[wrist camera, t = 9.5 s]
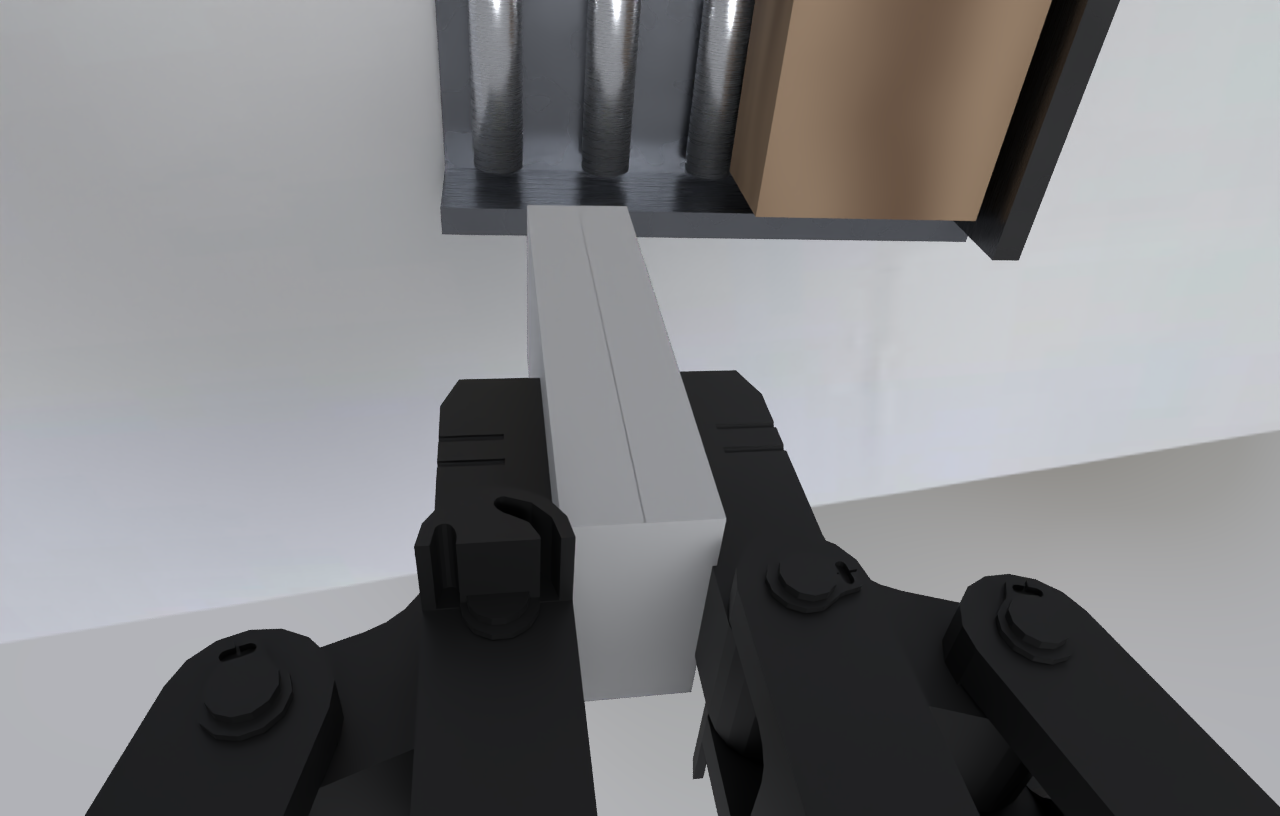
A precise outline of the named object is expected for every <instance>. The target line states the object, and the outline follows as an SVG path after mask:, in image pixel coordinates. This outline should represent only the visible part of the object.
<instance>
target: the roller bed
mask: <svg viewBox="0 0 1280 816" xmlns="http://www.w3.org/2000/svg"><path fill="white" fill-rule="evenodd" d="M435 1H436V18H437V35H438V51H439V68H440V85H441V102H442V118H443V135H444V152H445V175H444V183H443V191H442V200H441V222H442V234H459V235H527V205H564V206H627V208H628V212H629V215H630V218H631V221H632V224H633V227H634V230H635V233H636V237H668V238H737V239H807V240H877V241H946V242H966V239H967V236H969V237H970V238H971V239H972V240H973V241H974V242H975V243H976V244H977V245H978V246H979V247H980V248H981V249H982V250H983V251H984V252H985V253H986V254H987V255H988V256H989V257H990V258H991V259H992V260H1019V258H1020V255H1021V253H1022V250H1023V248H1024V245H1025V243H1026V240H1027V237H1028V235H1029V232H1030V230H1031V227H1032V225H1033V222H1034V219H1035V217H1036V214H1037V212H1038V209H1039V207H1040V204H1041V202H1042V199H1043V196H1044V194H1045V191H1046V189H1047V186H1048V184H1049V181H1050V178H1051V176H1052V173H1053V171H1054V168H1055V166H1056V163H1057V161H1058V158H1059V155H1060V153H1061V150H1062V148H1063V145H1064V143H1065V140H1066V137H1067V135H1068V132H1069V130H1070V127H1071V125H1072V122H1073V119H1074V117H1075V114H1076V112H1077V109H1078V107H1079V104H1080V102H1081V99H1082V96H1083V94H1084V91H1085V89H1086V86H1087V84H1088V81H1089V78H1090V76H1091V73H1092V71H1093V68H1094V66H1095V63H1096V60H1097V58H1098V55H1099V53H1100V50H1101V48H1102V45H1103V43H1104V40H1105V37H1106V35H1107V32H1108V30H1109V27H1110V25H1111V22H1112V19H1113V17H1114V14H1115V12H1116V9H1117V7H1118V4H1119V2H1120V0H1052V1H1051V4H1050V7H1049V10H1048V13H1047V16H1046V19H1045V22H1044V25H1043V28H1042V30H1041V33H1040V36H1039V39H1038V42H1037V45H1036V48H1035V51H1034V54H1033V57H1032V59H1031V62H1030V65H1029V68H1028V71H1027V74H1026V77H1025V80H1024V83H1023V85H1022V88H1021V91H1020V94H1019V97H1018V100H1017V103H1016V106H1015V109H1014V112H1013V114H1012V117H1011V120H1010V123H1009V126H1008V129H1007V132H1006V135H1005V138H1004V141H1003V143H1002V146H1001V149H1000V152H999V155H998V158H997V161H996V164H995V167H994V169H993V172H992V175H991V178H990V181H989V184H988V187H987V190H986V193H985V196H984V198H983V201H982V204H981V207H980V210H979V213H978V216H977V219H976V221H949V220H895V219H841V218H788V217H755V215H754V213H753V211H752V210H751V208H750V206H749V204H748V203H747V201H746V199H745V198H744V196H743V194H742V192H741V191H740V189H739V187H738V185H737V184H736V182H735V180H734V178H733V177H732V175H731V173H730V164H731V158H732V151H733V144H734V138H735V131H736V124H737V118H738V111H739V104H740V98H741V91H742V84H743V78H744V71H745V64H746V58H747V51H748V44H749V38H750V31H751V25H752V18H753V11H754V5H755V0H435Z"/></svg>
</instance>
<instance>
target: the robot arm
mask: <svg viewBox="0 0 1280 816" xmlns="http://www.w3.org/2000/svg"><path fill="white" fill-rule="evenodd" d="M527 358H528V370H529V378H505V379H464V380H458V382H457V383H456V385H455V386H454V387H453V389H452V390H451V392H450V393H449V395H448V396H447V397H446V399H445V400H444V402H443V403H442V404H441V406H440V422H439V442H438V458H437V464H438V468H437V477H436V495H435V511H434V512H433V513H432V514H431V515H430V516H429V517H428V518H427V519H426V520H425V521H424V522H423V523H422V525H421V528H420V531H419V534H418V537H417V540H416V543H415V546H414V549H415V557H416V565H417V573H418V581H419V589H420V593H419V595H418V596H417V597H416V598H415V599H414V600H413V601H412V602H411V603H410V604H409V605H408V606H407V607H406V609H405V610H403V611H402V612H400V613H399V614H397V615H396V616H394V617H393V618H392V619H390V620H389V621H387V622H386V623H383V624H381V625H379V626H377V627H375V628H372V629H370V630H368V631H366V632H364V633H361V634H358V635H355V636H352V637H349V638H346V639H343V640H340V641H337V642H335V643H332V644H329V645H326V646H323V647H319V646H318V645H317V644H315V643H314V642H313V641H312V640H311V639H310V638H309V637H306V636H303V635H300V634H297V633H294V632H290V631H287V630H284V629H262V630H248V631H245V632H242V633H239V634H236V635H233V636H230V637H227V638H224V639H221V640H218V641H216V642H214V643H213V644H211V645H209V646H208V647H206V648H205V649H203V650H202V651H200V652H199V653H197V654H196V655H194V656H193V657H192V658H190V659H188V660H187V661H186V662H185V663H184V664H183V665H182V666H181V667H180V669H179V670H178V671H177V672H176V673H175V674H174V676H173V677H172V678H171V679H170V680H169V681H168V682H167V684H166V685H165V686H164V687H163V689H162V691H161V692H160V694H159V695H158V697H157V699H156V700H155V702H154V704H153V705H152V707H151V708H150V710H149V712H148V713H147V715H146V716H145V718H144V720H143V721H142V723H141V725H140V726H139V728H138V730H137V731H136V733H135V734H134V736H133V738H132V739H131V741H130V743H129V744H128V746H127V747H126V749H125V751H124V752H123V754H122V756H121V757H120V759H119V761H118V762H117V764H116V765H115V767H114V769H113V770H112V772H111V774H110V775H109V777H108V778H107V780H106V782H105V783H104V785H103V787H102V788H101V790H100V792H99V793H98V795H97V796H96V798H95V800H94V801H93V803H92V805H91V806H90V808H89V809H88V811H87V813H86V814H85V816H597V808H596V799H595V791H594V782H593V774H592V764H591V756H590V747H589V738H588V730H587V721H586V712H585V703H584V702H585V701H595V700H607V699H618V698H629V697H641V696H651V695H663V694H674V693H686V692H691V689H692V685H693V680H694V675H695V670H696V666H697V668H698V671H699V676H700V680H701V684H702V688H703V693H704V697H705V701H706V703H705V708H704V712H703V716H702V721H701V725H700V730H699V734H698V738H697V743H696V747H695V752H694V756H693V779H699V778H703V776H704V771H705V767H706V764H707V767H708V772H709V777H710V781H711V786H712V790H713V795H714V799H715V804H716V808H717V813H718V816H1280V807H1279V806H1278V805H1277V804H1276V803H1275V802H1274V801H1273V800H1272V799H1271V798H1270V797H1269V796H1268V795H1267V794H1266V793H1265V792H1264V791H1263V790H1262V789H1261V788H1260V787H1259V785H1258V784H1256V782H1255V781H1254V780H1253V779H1251V778H1250V776H1249V775H1248V774H1247V773H1246V772H1245V771H1244V770H1243V769H1242V768H1241V767H1240V766H1239V765H1238V764H1237V763H1236V762H1235V761H1234V760H1233V759H1232V758H1231V757H1230V756H1229V755H1228V754H1227V753H1226V752H1225V751H1224V750H1223V749H1222V748H1221V747H1220V746H1219V745H1218V744H1217V743H1216V742H1215V741H1214V740H1213V739H1212V738H1211V737H1210V736H1209V735H1208V734H1207V733H1206V732H1205V731H1204V730H1203V729H1202V728H1201V727H1200V726H1199V725H1198V724H1197V723H1196V722H1195V721H1194V720H1193V719H1192V718H1191V717H1190V716H1189V715H1188V714H1187V712H1186V711H1184V709H1183V708H1182V707H1181V706H1179V704H1178V703H1177V702H1176V701H1175V700H1174V699H1173V698H1172V697H1171V696H1170V695H1169V694H1168V693H1167V692H1166V691H1165V690H1164V689H1163V688H1162V687H1161V686H1160V685H1159V684H1158V683H1157V682H1156V681H1155V680H1154V679H1153V678H1152V677H1151V676H1150V675H1149V674H1148V673H1147V672H1146V671H1145V670H1144V669H1143V668H1142V667H1141V666H1140V665H1139V664H1138V663H1137V662H1136V661H1135V660H1134V659H1133V658H1132V657H1131V656H1130V655H1129V654H1128V653H1127V652H1126V651H1125V650H1124V649H1123V648H1122V647H1121V646H1120V645H1119V644H1118V643H1117V642H1116V641H1115V640H1114V638H1112V636H1111V635H1110V634H1108V633H1107V631H1106V630H1105V629H1104V628H1102V626H1101V625H1100V624H1099V623H1098V622H1097V621H1096V620H1095V619H1094V618H1092V616H1091V615H1090V614H1089V613H1088V612H1087V611H1086V610H1084V609H1083V608H1082V607H1081V606H1079V605H1078V604H1077V603H1076V602H1074V601H1073V600H1072V599H1071V598H1069V597H1068V596H1067V595H1065V594H1064V593H1063V592H1061V591H1059V590H1057V589H1055V588H1053V587H1050V586H1048V585H1046V584H1044V583H1042V582H1040V581H1038V580H1036V579H1031V578H1026V577H1021V576H1016V575H1011V574H1004V575H995V576H985V577H983V578H982V579H980V580H978V581H977V582H975V583H973V584H972V585H970V586H968V588H967V590H966V592H965V594H964V596H963V598H962V600H961V602H960V603H958V602H953V601H948V600H944V599H939V598H934V597H929V596H924V595H919V594H914V593H909V592H905V591H900V590H897V589H893V588H890V587H887V586H883V585H880V584H878V583H876V582H874V581H872V580H870V578H869V577H868V575H867V574H866V573H865V571H864V570H863V568H862V567H861V566H860V564H859V563H858V561H857V560H856V559H855V558H853V557H852V556H851V555H849V554H848V553H846V552H845V551H844V550H842V549H841V548H840V547H838V546H837V545H836V544H833V543H830V542H828V541H826V540H825V538H824V536H823V535H822V532H821V530H820V528H819V525H818V523H817V521H816V519H815V516H814V514H813V512H812V509H811V507H810V505H809V502H808V500H807V498H806V495H805V493H804V491H803V488H802V486H801V484H800V482H799V479H798V477H797V475H796V472H795V470H794V468H793V465H792V463H791V461H790V458H789V456H788V454H787V451H784V449H783V442H782V440H781V438H780V435H779V433H778V431H777V428H776V427H774V421H773V419H772V417H771V415H770V412H769V410H768V408H767V405H766V403H765V401H764V398H763V396H762V394H761V393H760V392H759V391H758V390H757V389H756V388H754V387H753V386H752V385H751V384H750V383H749V382H748V381H747V380H746V379H745V378H744V377H742V376H741V375H740V374H739V373H738V372H737V371H736V370H732V371H689V372H680V371H679V368H678V365H677V362H676V359H675V356H674V353H673V350H672V346H671V343H670V340H669V337H668V334H667V331H666V328H665V324H664V321H663V318H662V315H661V312H660V309H659V306H658V302H657V299H656V296H655V293H654V290H653V287H652V284H651V281H650V277H649V274H648V271H647V268H646V265H645V262H644V259H643V255H642V252H641V249H640V246H639V243H638V240H637V237H636V233H635V230H634V227H633V224H632V221H631V218H630V215H629V212H628V208H627V206H564V205H527Z"/></svg>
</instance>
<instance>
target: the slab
mask: <svg viewBox="0 0 1280 816" xmlns="http://www.w3.org/2000/svg"><path fill="white" fill-rule="evenodd" d="M1051 1H1052V0H755V5H754V11H753V18H752V25H751V31H750V38H749V44H748V51H747V58H746V64H745V71H744V78H743V84H742V91H741V98H740V104H739V111H738V118H737V124H736V131H735V138H734V144H733V151H732V158H731V164H730V173H731V175H732V177H733V178H734V180H735V182H736V184H737V185H738V187H739V189H740V191H741V192H742V194H743V196H744V198H745V199H746V201H747V203H748V204H749V206H750V208H751V210H752V211H753V213H754V215H755V217H788V218H841V219H895V220H949V221H976V219H977V216H978V213H979V210H980V207H981V204H982V201H983V198H984V196H985V193H986V190H987V187H988V184H989V181H990V178H991V175H992V172H993V169H994V167H995V164H996V161H997V158H998V155H999V152H1000V149H1001V146H1002V143H1003V141H1004V138H1005V135H1006V132H1007V129H1008V126H1009V123H1010V120H1011V117H1012V114H1013V112H1014V109H1015V106H1016V103H1017V100H1018V97H1019V94H1020V91H1021V88H1022V85H1023V83H1024V80H1025V77H1026V74H1027V71H1028V68H1029V65H1030V62H1031V59H1032V57H1033V54H1034V51H1035V48H1036V45H1037V42H1038V39H1039V36H1040V33H1041V30H1042V28H1043V25H1044V22H1045V19H1046V16H1047V13H1048V10H1049V7H1050V4H1051Z"/></svg>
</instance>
